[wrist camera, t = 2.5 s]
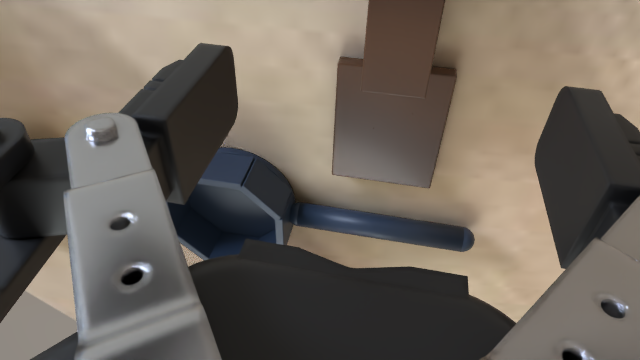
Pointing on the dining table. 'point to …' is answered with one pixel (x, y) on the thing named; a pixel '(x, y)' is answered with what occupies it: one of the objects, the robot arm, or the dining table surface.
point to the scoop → (281, 212)
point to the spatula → (393, 97)
